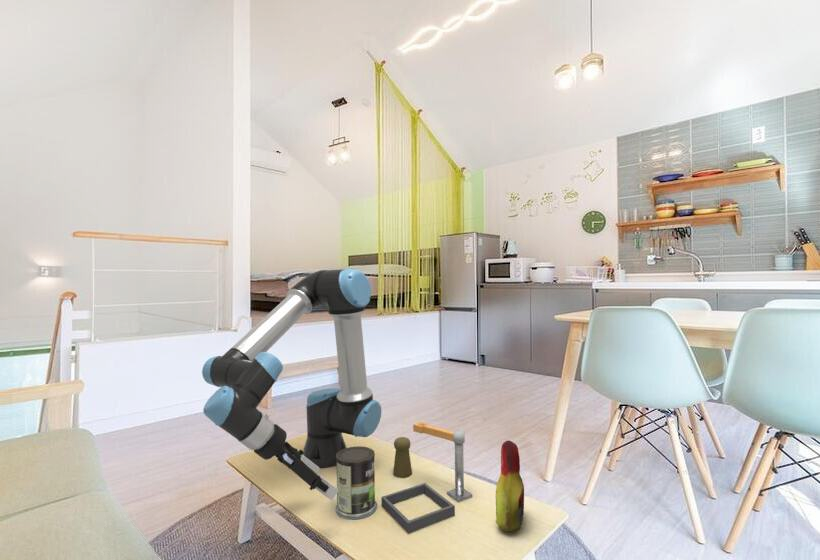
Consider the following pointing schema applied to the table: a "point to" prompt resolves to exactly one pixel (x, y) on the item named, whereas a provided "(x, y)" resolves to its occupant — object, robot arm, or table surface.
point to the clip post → (459, 477)
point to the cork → (402, 458)
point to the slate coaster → (359, 516)
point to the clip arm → (440, 432)
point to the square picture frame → (421, 521)
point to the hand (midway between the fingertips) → (325, 483)
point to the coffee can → (355, 481)
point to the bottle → (509, 489)
